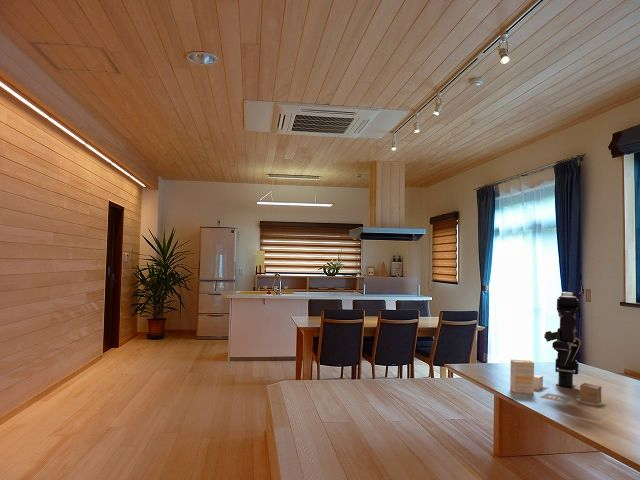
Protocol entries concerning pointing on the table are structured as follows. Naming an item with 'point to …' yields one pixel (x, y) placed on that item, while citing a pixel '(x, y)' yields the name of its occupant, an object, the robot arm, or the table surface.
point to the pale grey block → (538, 382)
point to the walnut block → (590, 393)
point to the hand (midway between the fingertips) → (566, 364)
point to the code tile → (556, 398)
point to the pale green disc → (591, 403)
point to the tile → (542, 389)
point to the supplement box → (522, 376)
